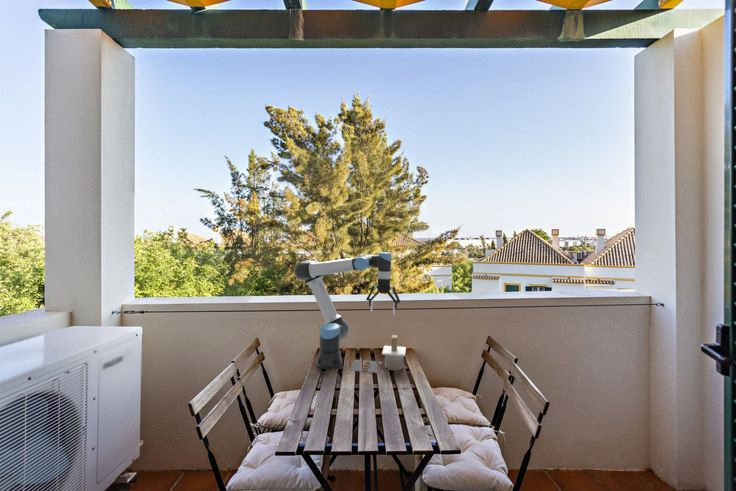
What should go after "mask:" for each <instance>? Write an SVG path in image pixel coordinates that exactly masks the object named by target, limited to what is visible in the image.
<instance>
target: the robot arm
mask: <svg viewBox="0 0 736 491" xmlns="http://www.w3.org/2000/svg"><path fill="white" fill-rule="evenodd" d="M368 268H377V277H378V278H377V285H375V284H373V285H372V286H371V290H370V291H369V294H368V295H367V297H366V299H365V300H366V301H368V308H369V307H370V313H373V309H374V308H373V306H374V301H373V300H374V299H375V298H376V296H377V295H379V293H380V294H384V295H386V294H387V295H388V296H389V297H390V299H391V300H392V301H393V307H392V315H395V313H396V309H397V308H398V304H399V303H401V300H400V298H399V295H398V293H397V289H396V286H391V271H392V253H390V252H388V251H384V252H383V251H380V252H378V254H365V253H363V254H361V253H360V254H359V256H356V257H350V258H343V259H336V260H329V261H321V262H319V261H318V260H316V259H307V260H303V261H300V262H297V264H296V265H295V266H294V270H293V272H294V276H295V277H296V278H297V279H298V280H299V281H304V282H305V285H307V286H309V287H310V290H311V293H312V294H313V296H314V298H315V301H316V303H317V305H318V307H319V310H320V312H321V314H322V317H323V318H324V323H323V324H322V325H321V327H320V328H319V353H318V356H317V360H316V367H317V368H319V369H322V370H333V368H334V369H337V368H336V367H338V368H340V367H342V365H343V359H342V355H341V352H340V342H342V341H343V339H345V338H346V337H347V336H348V334H349V331H350V328H349V323H348V322H347V321H346V320H344V319H343V317H342V315H340V314H338V312H337V310H336V307H335V305H334V304H333V301H332V298H331V296H330V294H329V293H328V289H327V288H326V286H325V284H324V281H323V278H324V276H326V275H332V274H339V273H348V272H355V271H356V272H357V271H365V270H367V269H368ZM374 290H377V291H376V292H375V293H374ZM390 290H391V291H392V292H393V294H392V293H391V291H390ZM373 293H374V294H373ZM372 294H373V295H372Z"/></svg>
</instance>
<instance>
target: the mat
mask: <svg viewBox="0 0 736 491" xmlns="http://www.w3.org/2000/svg"><path fill="white" fill-rule="evenodd" d="M360 360H361V359H354V361H353V363H352V364H351V365H350V366H351V367H350V368H349V371H352V372H361V370H360ZM362 360H363V359H362ZM366 361H367V362H369V361H370V362H369V363H370V365H369V366H370V368H368V367H369V366H368V367H367V368H368V369H369V370H368V372H367V373H375V374H376V373H377V363H376V360H365V359H364V360H363V366H364V365H365V363H366ZM377 361H378V360H377ZM378 363H380V364H382V365H383V361H378ZM380 364H379V365H380ZM363 368H365V367H363ZM363 370H364V369H363ZM362 372H363V371H362ZM363 373H364V372H363ZM377 374H378V373H377Z"/></svg>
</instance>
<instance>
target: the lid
mask: <svg viewBox="0 0 736 491" xmlns="http://www.w3.org/2000/svg"><path fill="white" fill-rule="evenodd" d="M398 337H399V336H398V334H392V336H391V345H383V349H382V352H381V355H382V356H385V355H394V356H403V357H406V351H407V347H406V346H399V345H398Z"/></svg>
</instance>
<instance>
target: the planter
mask: <svg viewBox="0 0 736 491" xmlns="http://www.w3.org/2000/svg"><path fill="white" fill-rule="evenodd" d="M385 367H386V368H388V369H387V370H390V371H401V370H402V368H403V369H404V356H394V355H384V368H385ZM400 369H401V370H400Z"/></svg>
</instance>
